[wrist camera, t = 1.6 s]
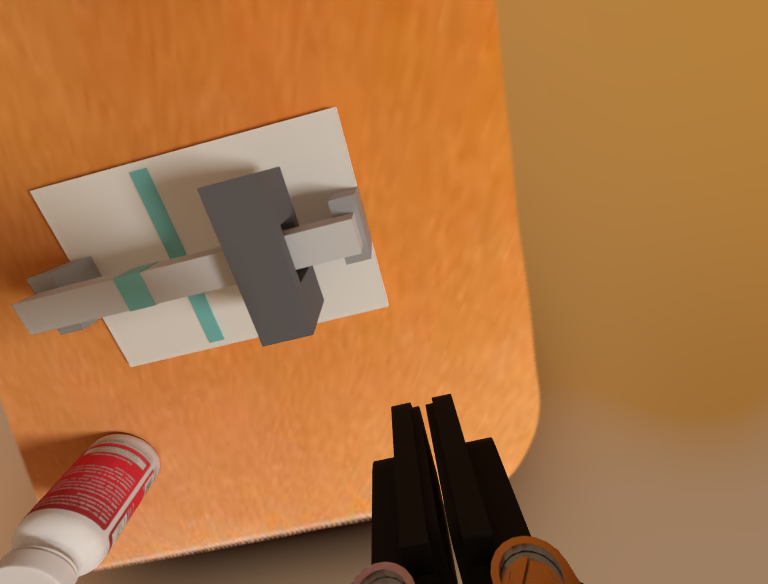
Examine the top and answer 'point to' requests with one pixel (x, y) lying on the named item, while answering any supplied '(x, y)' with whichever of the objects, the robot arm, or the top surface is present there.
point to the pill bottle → (81, 513)
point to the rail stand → (198, 241)
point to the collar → (264, 254)
